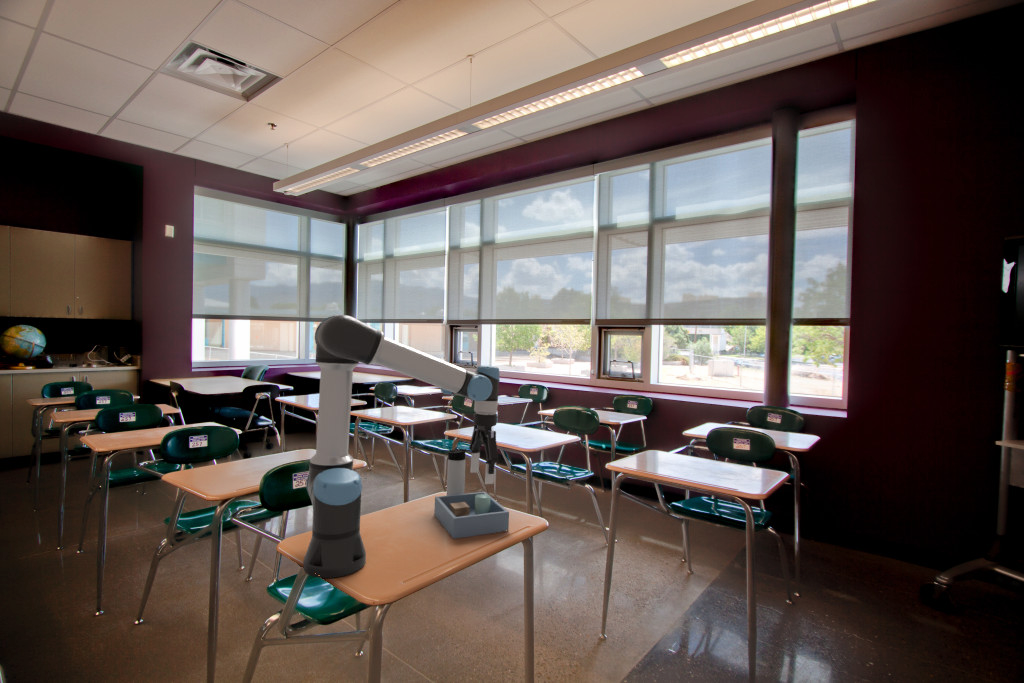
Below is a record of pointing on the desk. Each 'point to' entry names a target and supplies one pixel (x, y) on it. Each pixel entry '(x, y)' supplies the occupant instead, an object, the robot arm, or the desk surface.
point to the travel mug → (456, 472)
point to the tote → (470, 516)
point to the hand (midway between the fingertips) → (481, 477)
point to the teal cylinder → (482, 504)
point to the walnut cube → (460, 509)
